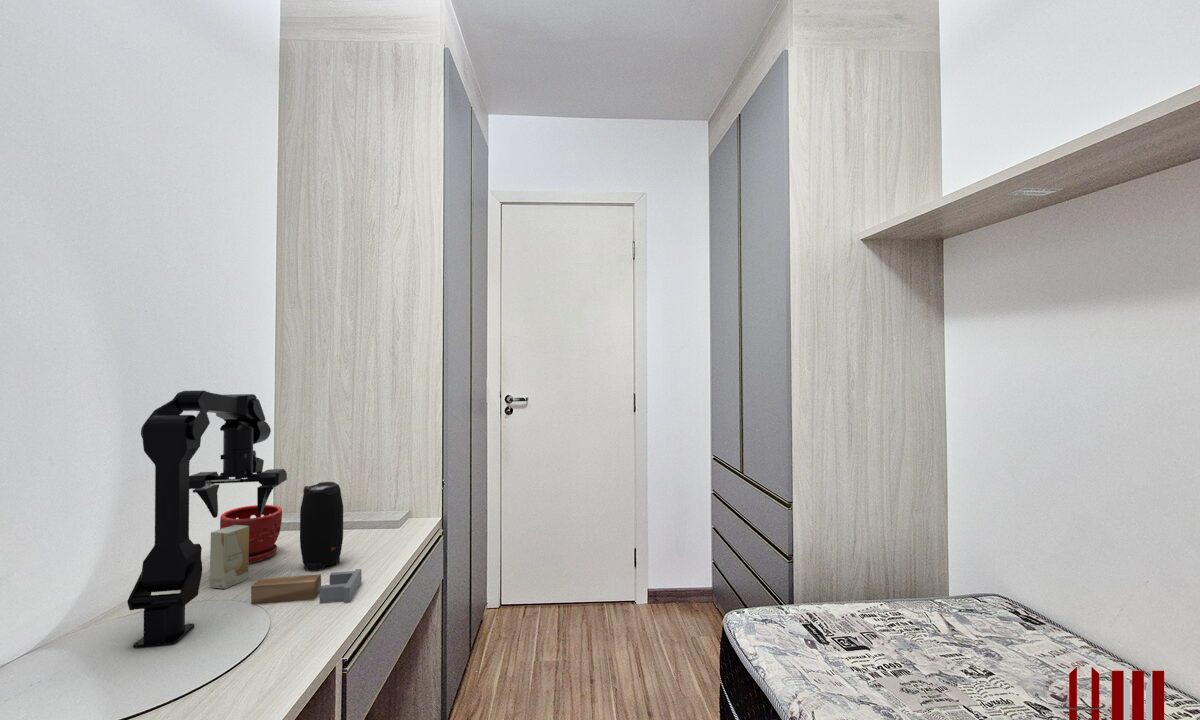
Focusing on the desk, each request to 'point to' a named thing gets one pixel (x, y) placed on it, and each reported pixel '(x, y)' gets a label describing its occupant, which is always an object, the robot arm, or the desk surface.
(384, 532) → the desk surface
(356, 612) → the desk surface
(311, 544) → the portable speaker
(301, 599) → the brown wooden block
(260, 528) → the plant pot
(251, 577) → the desk surface
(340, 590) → the end cap
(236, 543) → the skincare box
